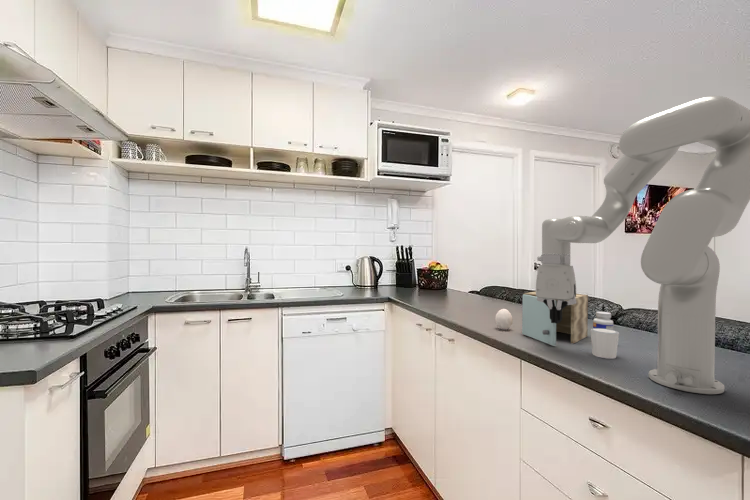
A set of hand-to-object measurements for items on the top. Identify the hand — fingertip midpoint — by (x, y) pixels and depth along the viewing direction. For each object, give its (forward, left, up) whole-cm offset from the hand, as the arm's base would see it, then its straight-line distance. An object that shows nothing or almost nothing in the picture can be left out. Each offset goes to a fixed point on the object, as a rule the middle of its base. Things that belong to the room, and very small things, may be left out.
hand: (555, 322), depth 104 cm
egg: (+13, +23, -8) cm, 27 cm away
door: (+5, +8, -7) cm, 12 cm away
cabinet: (+18, +7, -8) cm, 21 cm away
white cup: (+4, -11, -8) cm, 14 cm away
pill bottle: (+19, -7, -8) cm, 22 cm away
